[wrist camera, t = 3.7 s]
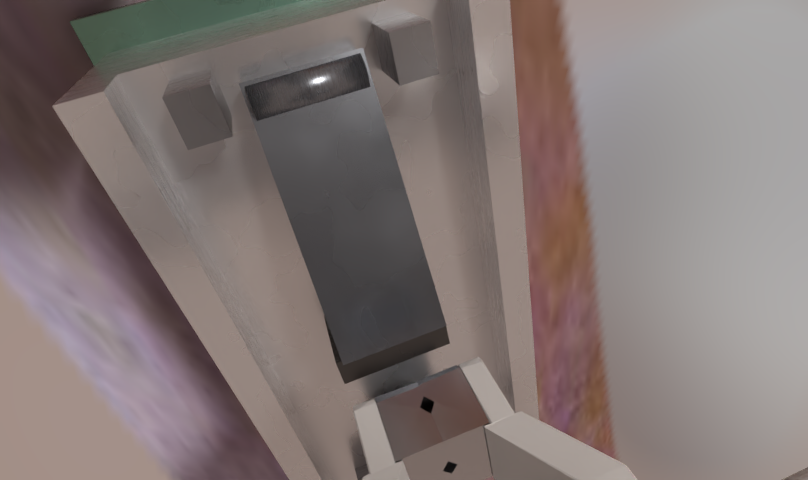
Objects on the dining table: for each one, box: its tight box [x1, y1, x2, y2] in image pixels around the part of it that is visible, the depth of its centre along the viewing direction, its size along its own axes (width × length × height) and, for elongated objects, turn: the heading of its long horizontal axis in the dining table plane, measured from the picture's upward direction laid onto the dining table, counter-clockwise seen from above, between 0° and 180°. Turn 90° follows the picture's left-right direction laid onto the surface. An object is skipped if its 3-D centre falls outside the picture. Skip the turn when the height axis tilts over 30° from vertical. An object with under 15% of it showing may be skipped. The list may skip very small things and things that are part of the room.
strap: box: [239, 48, 447, 365], centre depth 13 cm, size 8×3×1 cm, turn 12°
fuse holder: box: [52, 0, 539, 480], centre depth 18 cm, size 21×11×7 cm, turn 12°
